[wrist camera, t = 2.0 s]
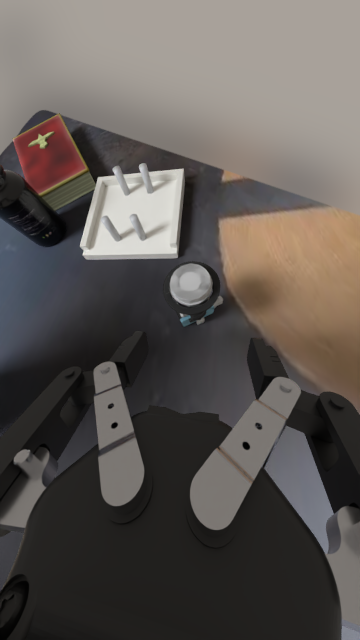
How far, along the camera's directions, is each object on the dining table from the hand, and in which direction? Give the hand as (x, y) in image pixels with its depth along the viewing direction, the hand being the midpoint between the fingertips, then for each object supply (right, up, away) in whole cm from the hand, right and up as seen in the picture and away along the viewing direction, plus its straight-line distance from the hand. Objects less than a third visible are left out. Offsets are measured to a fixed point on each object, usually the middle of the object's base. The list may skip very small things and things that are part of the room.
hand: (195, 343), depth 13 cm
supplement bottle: (-26, +18, +20) cm, 37 cm away
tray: (-9, +20, +17) cm, 28 cm away
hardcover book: (-27, +34, +25) cm, 50 cm away
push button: (+2, +3, +11) cm, 12 cm away
